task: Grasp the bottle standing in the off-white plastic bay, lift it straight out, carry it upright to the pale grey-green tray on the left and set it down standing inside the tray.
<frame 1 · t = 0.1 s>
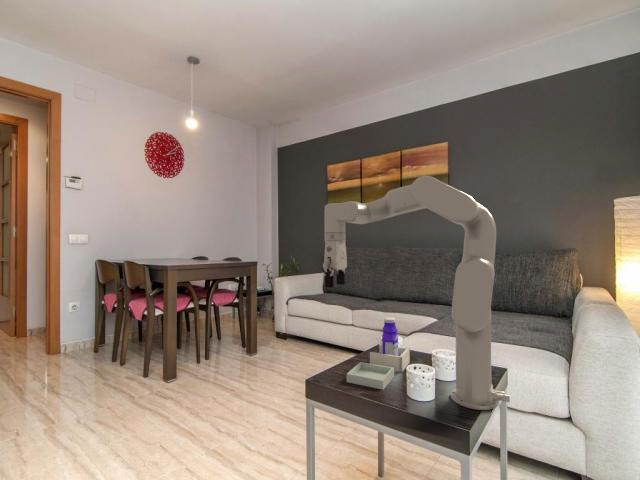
hand: (335, 285, 121), 31 cm above the table, tool pointing down, fingers open, 9 cm apart
bay: (390, 364, 128), on the table
bottle: (390, 364, 128), resting on bay
tray: (371, 378, 115), on the table
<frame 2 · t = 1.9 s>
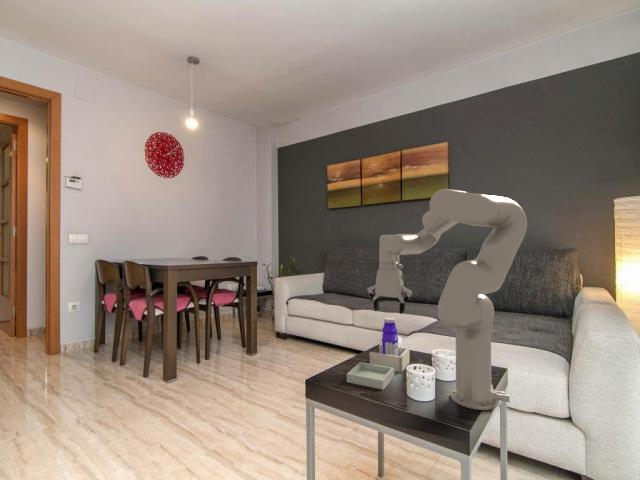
hand: (389, 311, 129), 20 cm above the table, tool pointing down, fingers open, 9 cm apart
nothing on the table moved.
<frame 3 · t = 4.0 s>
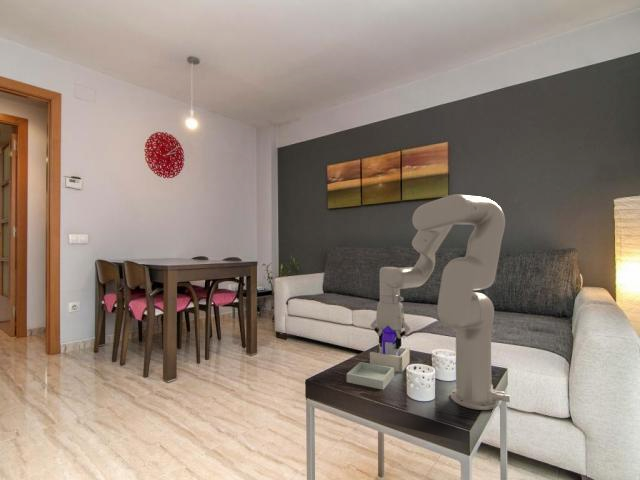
hand: (390, 346, 128), 7 cm above the table, tool pointing down, fingers closed on bottle, 5 cm apart
bottle: (390, 364, 128), resting on bay, touching gripper
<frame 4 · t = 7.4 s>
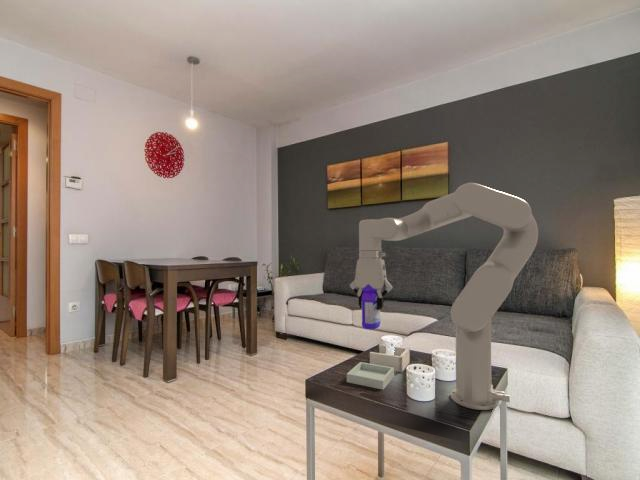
hand: (370, 307, 115), 24 cm above the table, tool pointing down, fingers closed on bottle, 5 cm apart
bottle: (371, 328, 115), point 17 cm above the table, touching gripper
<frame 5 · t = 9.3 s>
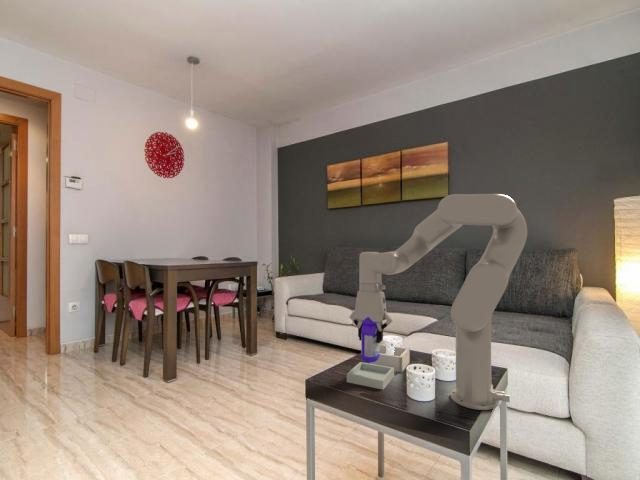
hand: (370, 340, 115), 13 cm above the table, tool pointing down, fingers closed on bottle, 5 cm apart
bottle: (370, 360, 115), point 6 cm above the table, touching gripper
when the fingers open (9 cm above the table, at t = 11.1 s): bottle drops 1 cm, resting on tray.
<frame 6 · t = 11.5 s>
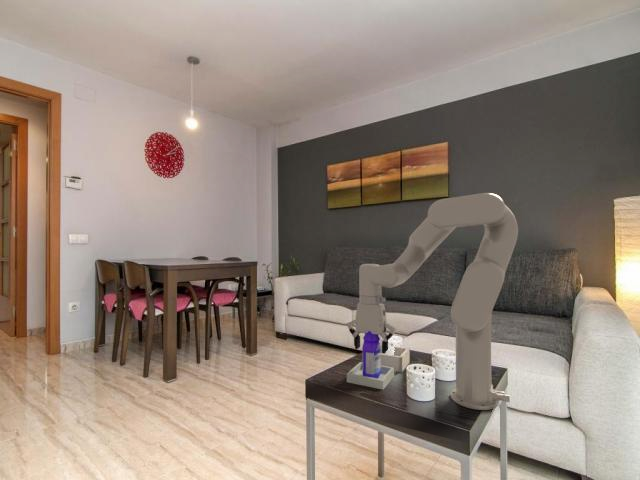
hand: (370, 350, 115), 10 cm above the table, tool pointing down, fingers open, 9 cm apart
bottle: (371, 377, 115), point 1 cm above the table, touching tray
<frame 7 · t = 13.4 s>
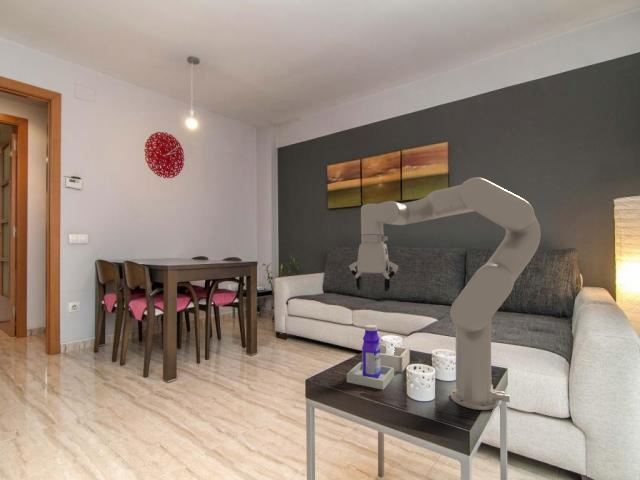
hand: (373, 290, 115), 30 cm above the table, tool pointing down, fingers open, 9 cm apart
nothing on the table moved.
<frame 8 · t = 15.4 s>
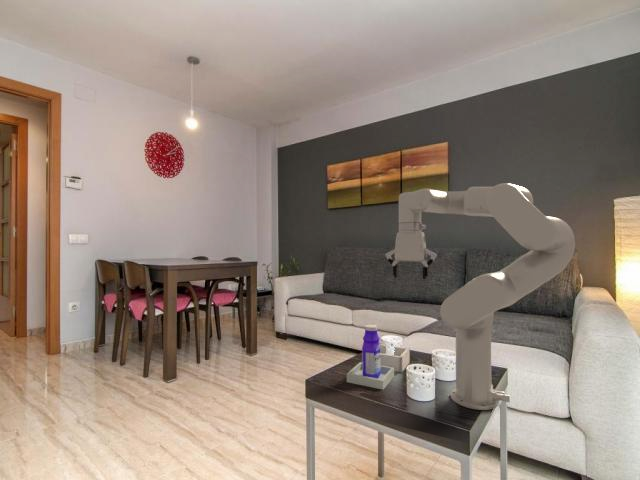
hand: (410, 278, 116), 34 cm above the table, tool pointing down, fingers open, 9 cm apart
nothing on the table moved.
at the end: bottle inside the target area on the tray (0.3 cm from its centre), point 0.6 cm above the tray's base; bottle tilted 0°; the gripper is holding nothing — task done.
